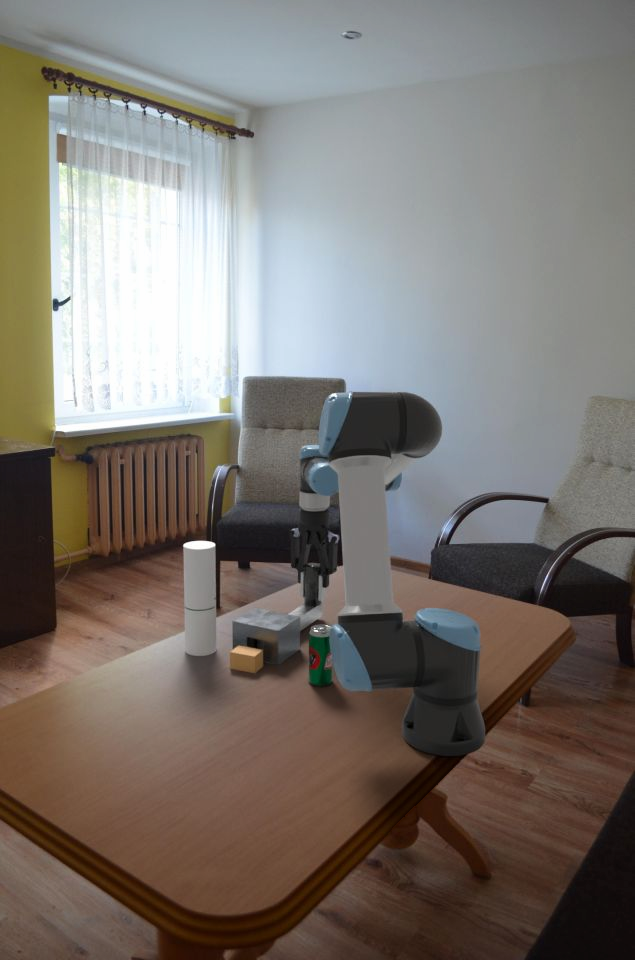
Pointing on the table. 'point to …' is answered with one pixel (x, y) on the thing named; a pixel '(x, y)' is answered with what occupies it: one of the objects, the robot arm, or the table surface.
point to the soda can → (320, 656)
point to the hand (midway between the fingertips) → (313, 597)
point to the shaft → (307, 599)
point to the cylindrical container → (200, 597)
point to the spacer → (246, 659)
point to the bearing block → (268, 633)
